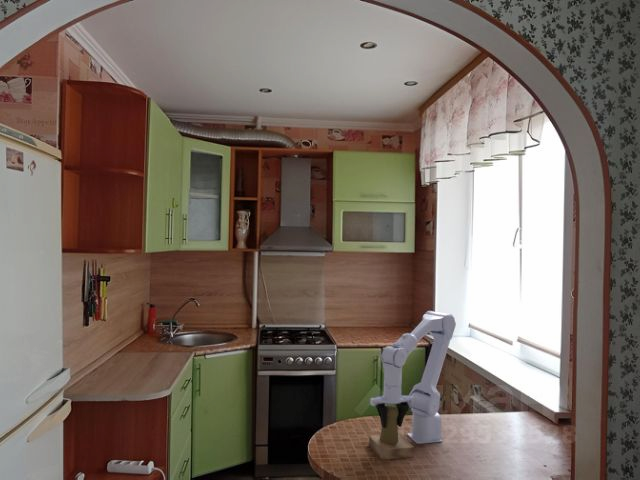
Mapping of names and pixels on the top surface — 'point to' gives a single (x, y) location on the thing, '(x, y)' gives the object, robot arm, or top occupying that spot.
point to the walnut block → (391, 448)
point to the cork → (390, 426)
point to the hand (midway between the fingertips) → (391, 426)
